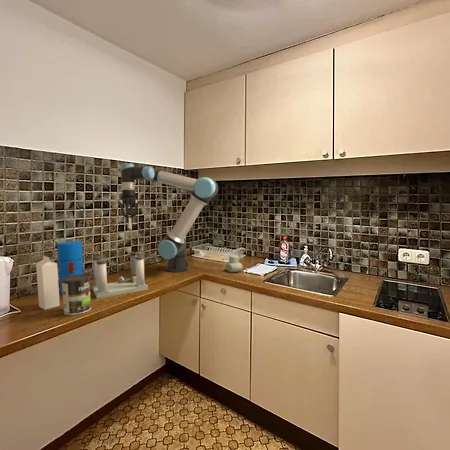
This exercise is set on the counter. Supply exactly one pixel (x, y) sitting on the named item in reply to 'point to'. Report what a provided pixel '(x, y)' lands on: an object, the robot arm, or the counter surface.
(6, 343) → the counter surface
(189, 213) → the robot arm
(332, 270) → the counter surface
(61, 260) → the thermos
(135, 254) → the folding leg
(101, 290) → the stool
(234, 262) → the pipe tee fitting
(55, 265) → the milk
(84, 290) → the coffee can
